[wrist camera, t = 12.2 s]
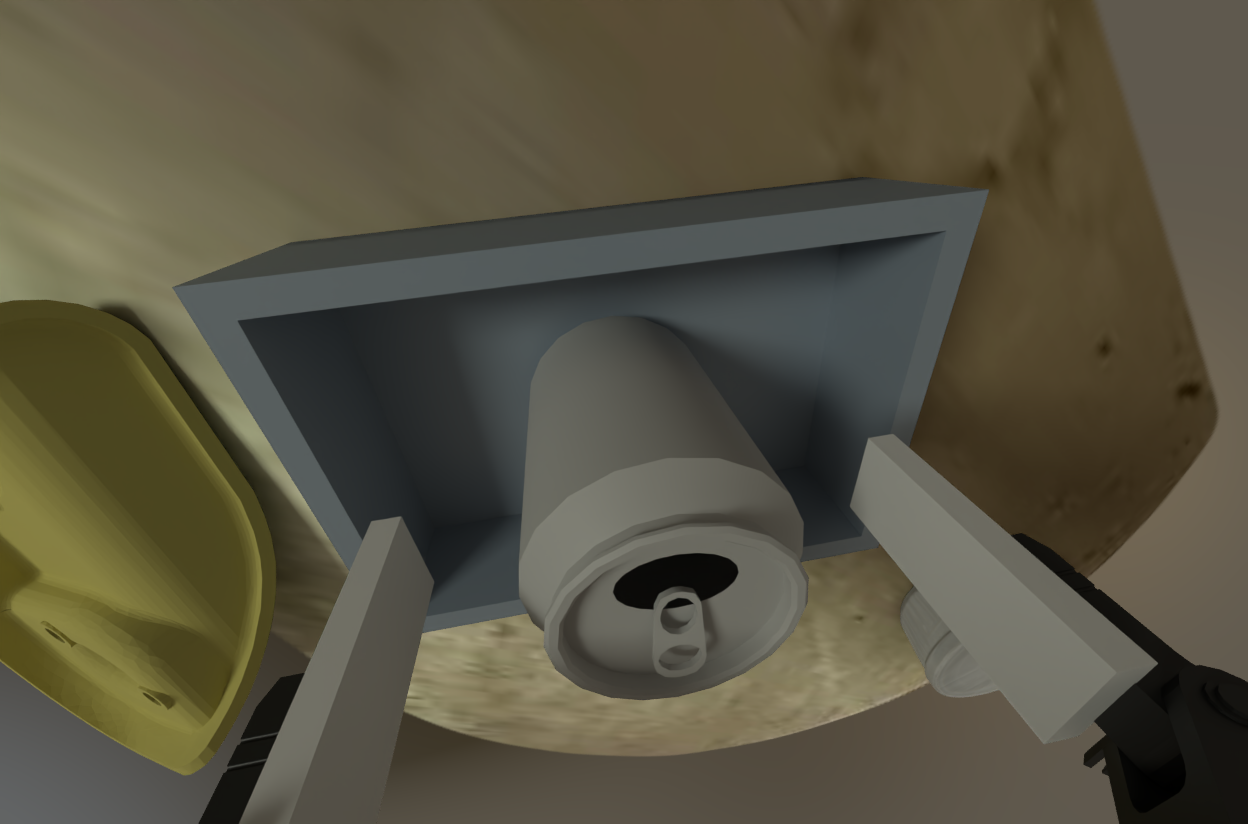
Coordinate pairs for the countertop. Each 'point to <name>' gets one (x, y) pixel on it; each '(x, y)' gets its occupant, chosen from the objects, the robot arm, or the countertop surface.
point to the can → (650, 520)
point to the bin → (557, 303)
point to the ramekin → (941, 651)
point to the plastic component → (124, 538)
